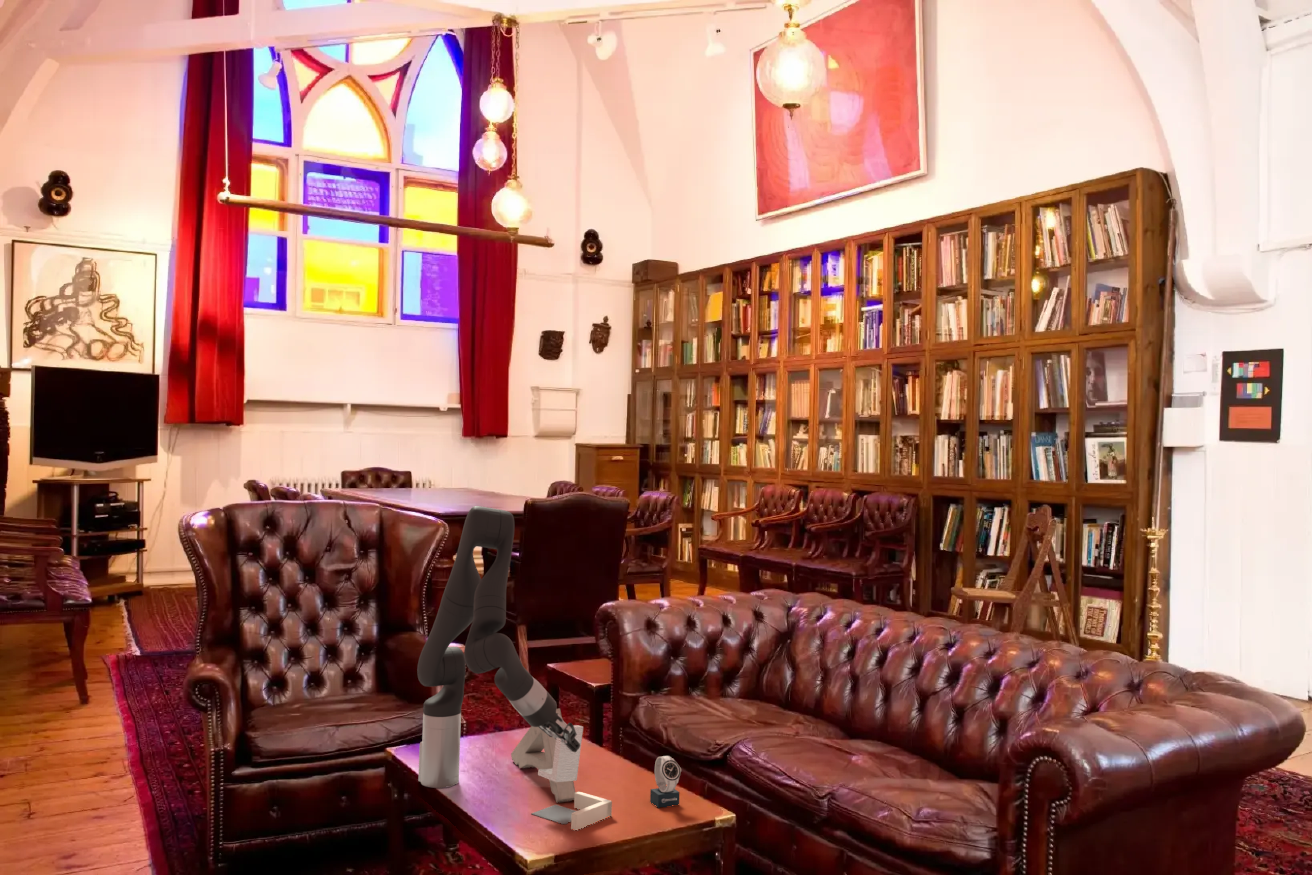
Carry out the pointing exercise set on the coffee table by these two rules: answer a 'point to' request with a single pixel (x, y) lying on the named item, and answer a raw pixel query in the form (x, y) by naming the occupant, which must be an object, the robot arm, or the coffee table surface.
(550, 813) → the mat
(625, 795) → the coffee table surface
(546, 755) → the letter a
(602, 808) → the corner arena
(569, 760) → the angle bracket
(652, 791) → the watch
